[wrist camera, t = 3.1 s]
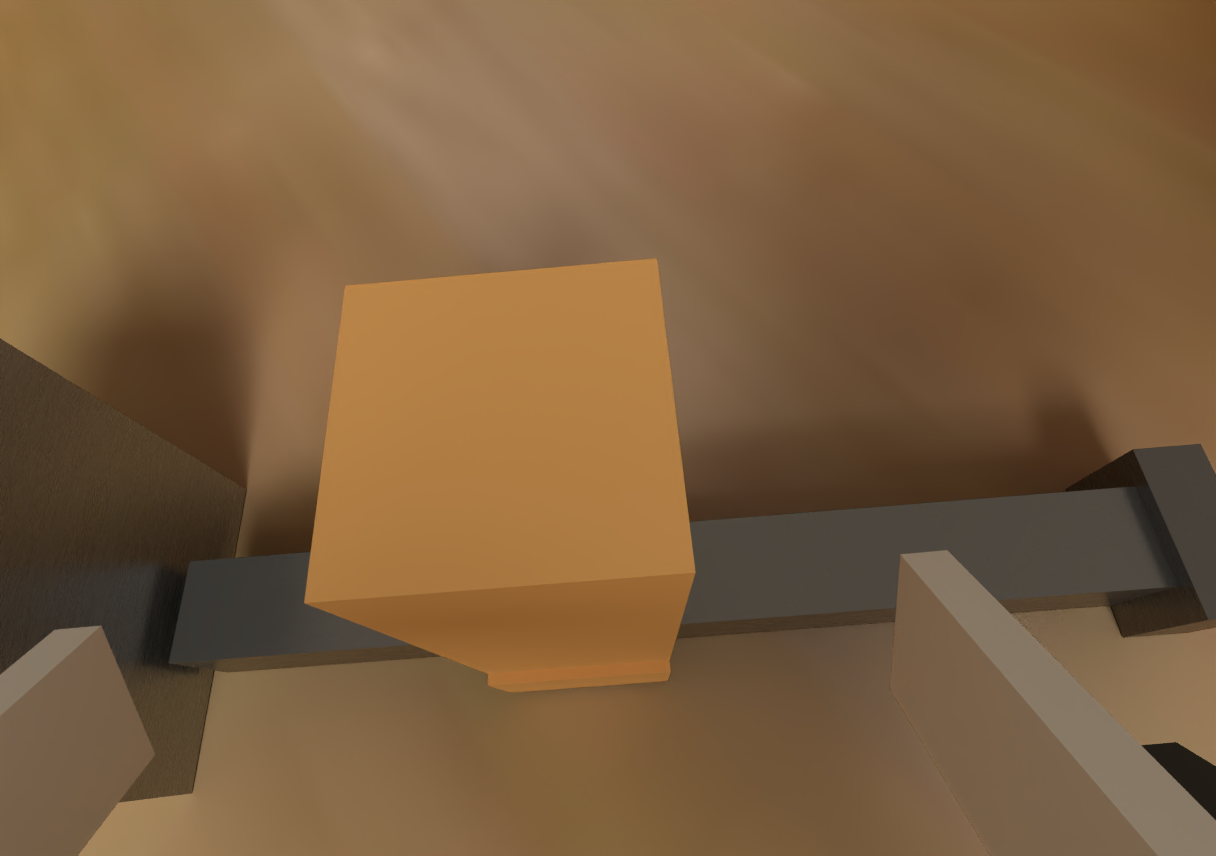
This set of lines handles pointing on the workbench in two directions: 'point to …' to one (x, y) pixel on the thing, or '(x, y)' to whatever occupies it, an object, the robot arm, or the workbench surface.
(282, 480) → the workbench surface
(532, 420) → the carriage
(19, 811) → the robot arm
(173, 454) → the cabinet
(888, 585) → the guide rail
